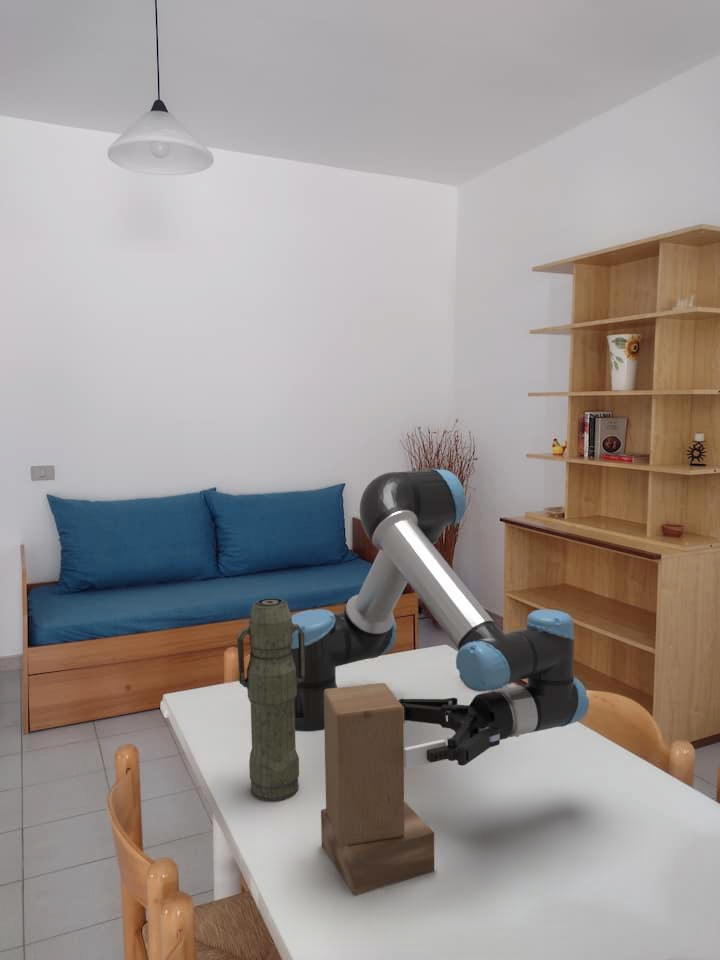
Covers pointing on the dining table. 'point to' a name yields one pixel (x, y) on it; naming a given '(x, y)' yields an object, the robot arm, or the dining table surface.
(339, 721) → the wooden block
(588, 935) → the dining table surface
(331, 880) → the dining table surface
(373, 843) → the walnut pedestal block
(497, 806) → the dining table surface
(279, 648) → the thermos
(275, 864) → the dining table surface
